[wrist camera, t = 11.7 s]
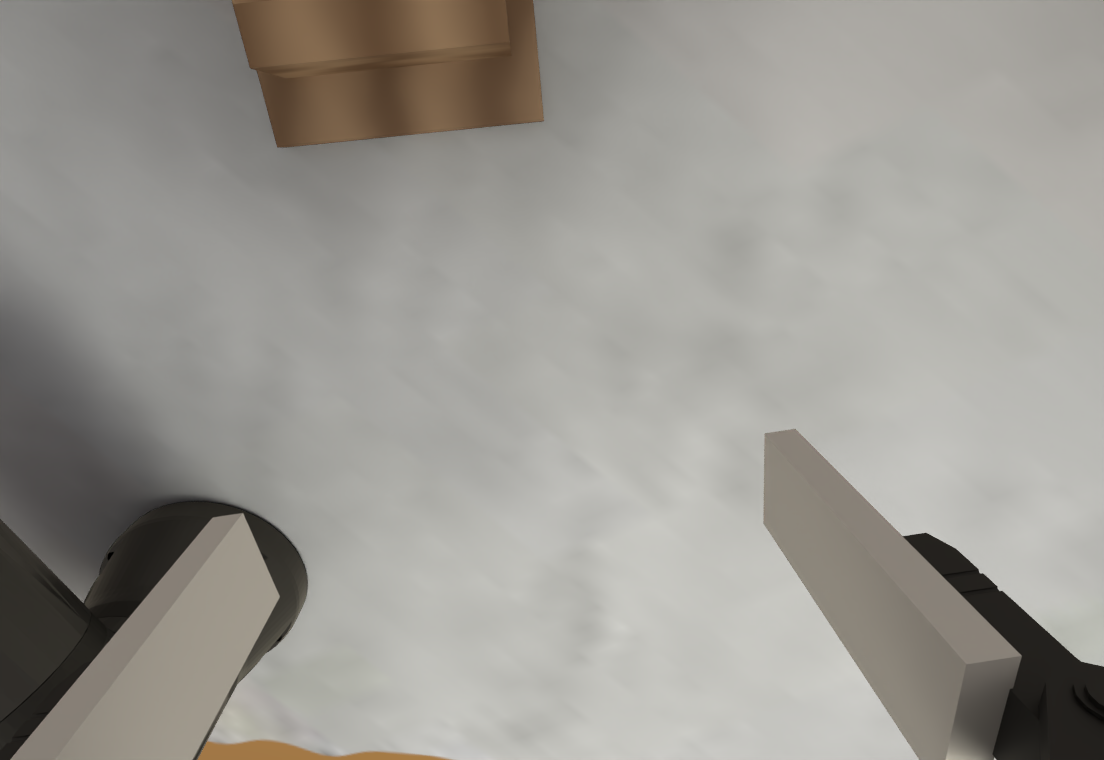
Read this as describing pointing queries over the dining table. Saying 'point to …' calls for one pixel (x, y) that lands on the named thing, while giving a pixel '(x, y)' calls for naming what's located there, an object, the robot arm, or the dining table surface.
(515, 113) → the socket block
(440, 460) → the dining table surface
